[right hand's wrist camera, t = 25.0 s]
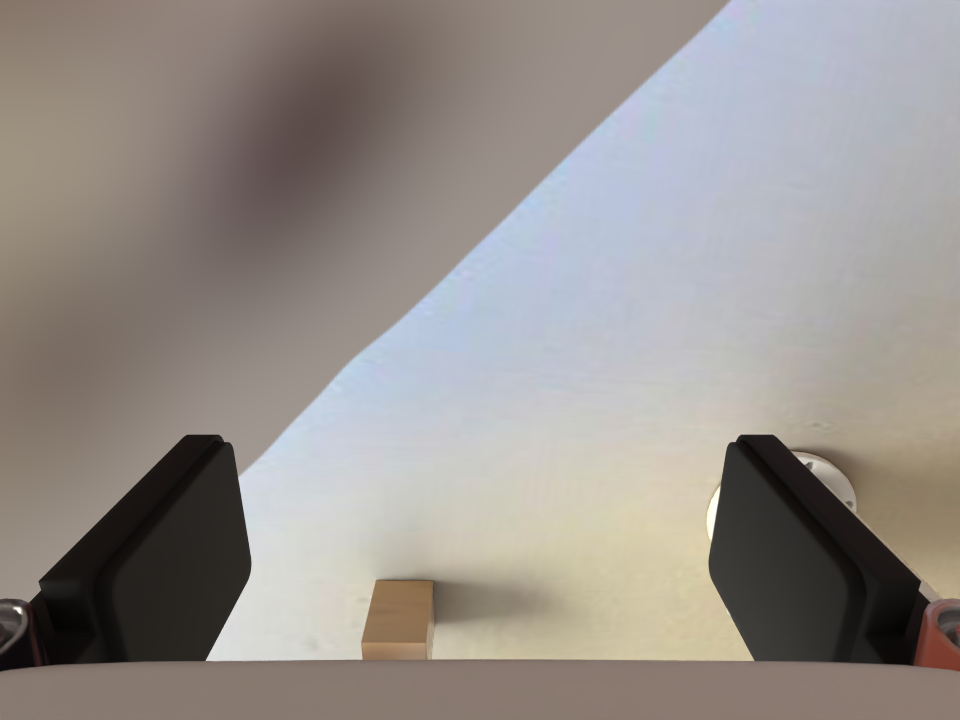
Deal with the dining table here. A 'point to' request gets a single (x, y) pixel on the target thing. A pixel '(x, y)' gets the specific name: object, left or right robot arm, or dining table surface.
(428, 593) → the wooden block
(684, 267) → the dining table surface
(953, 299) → the dining table surface
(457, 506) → the dining table surface
